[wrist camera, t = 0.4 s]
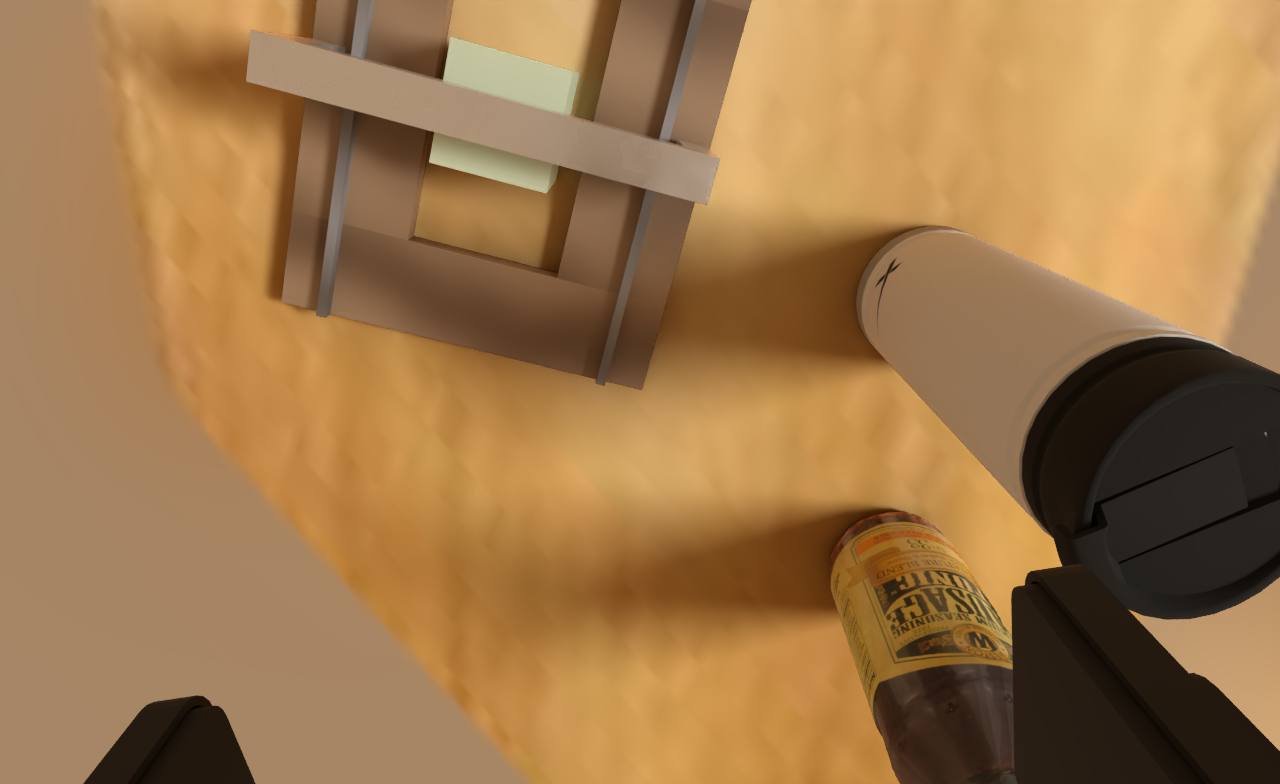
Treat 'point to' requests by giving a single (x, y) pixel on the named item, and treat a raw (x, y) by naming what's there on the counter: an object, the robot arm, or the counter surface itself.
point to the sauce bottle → (926, 652)
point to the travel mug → (1091, 418)
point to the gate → (478, 116)
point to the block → (510, 81)
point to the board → (485, 285)
